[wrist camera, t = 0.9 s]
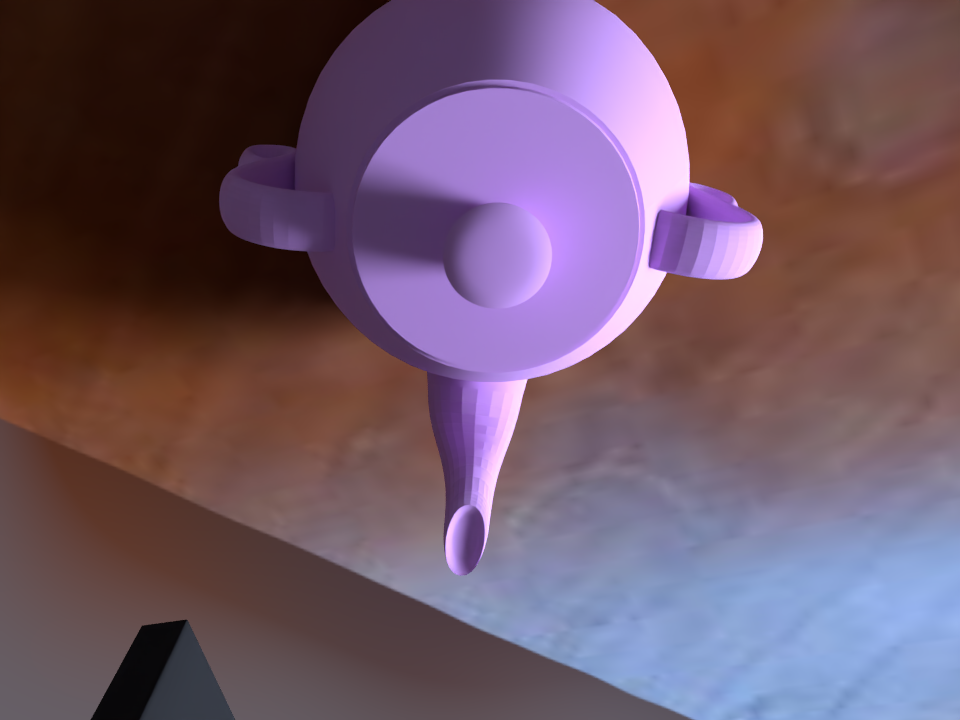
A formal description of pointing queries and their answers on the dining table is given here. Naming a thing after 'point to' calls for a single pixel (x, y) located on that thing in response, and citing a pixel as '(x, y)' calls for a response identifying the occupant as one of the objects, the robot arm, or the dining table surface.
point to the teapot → (489, 207)
